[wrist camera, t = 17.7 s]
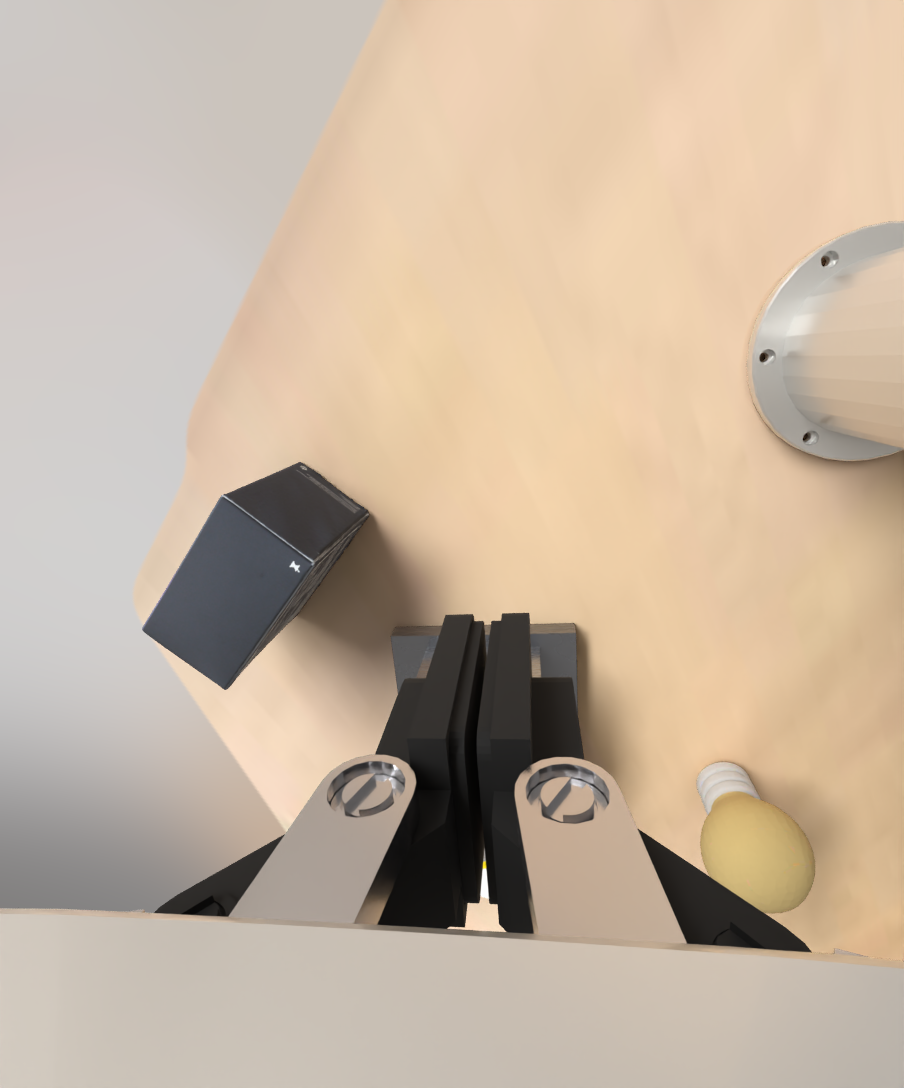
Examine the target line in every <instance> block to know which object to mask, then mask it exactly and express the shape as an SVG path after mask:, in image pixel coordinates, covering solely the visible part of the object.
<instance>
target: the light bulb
mask: <svg viewBox="0 0 904 1088" xmlns="http://www.w3.org/2000/svg"><path fill="white" fill-rule="evenodd" d="M697 790H698V792H699V795H700V796H701V800H702V802H703V804H704V806H705V810H706V812H707V814H708V816H707V818H706V820H705V822H704V825H703V828H702V832H701V841H700V846H701V854H702V858H703V862H704V865H705V868H706V870H707V872H708V874H709V876H710V877H711V878H712V879H714V880H715V881H717V882H718V883H720V884H721V885H723V886H724V887H726V888H727V889H729V890H730V891H732V892H733V893H735V894H736V895H738V896H739V897H741V898H742V899H744V900H745V901H747V902H748V903H750V904H751V905H753V906H754V907H756V908H757V909H759V910H760V911H762V912H763V913H782V912H786V911H789V910H792V909H794V908H796V907H797V906H799V905H800V904H801V903H802V902H803V901H804V899H805V898H806V897H807V895H808V893H809V891H810V889H811V887H812V884H813V881H814V876H815V859H814V855H813V851H812V848H811V846H810V843H809V841H808V839H807V837H806V835H805V834H804V832H803V831H802V830H801V828H800V827H799V826H798V824H797V823H796V822H795V821H794V820H793V819H792V818H791V817H789V816H788V815H787V814H786V813H785V812H783V811H782V810H780V809H779V808H777V807H776V806H774V805H772V804H769V803H767V802H765V801H762V800H761V799H760V797H759V795H758V793H757V791H756V790H755V787H754V785H753V784H752V782H751V780H750V778H749V776H748V774H747V773H746V772H745V770H743V769H742V768H741V767H740V766H738V765H736V764H733V763H729V762H717V763H713V764H711V765H709V766H707V767H705V768H704V769H703V770H702V771H701V772H700V774H699V775H698V778H697Z"/></svg>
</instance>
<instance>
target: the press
mask: <svg viewBox="0 0 904 1088" xmlns="http://www.w3.org/2000/svg"><path fill="white" fill-rule="evenodd" d="M484 627H485V640H486V653H487V652H488V644H489V637H490V629H491V625H484ZM441 628H442V626H419V627H395V629H394V631H393V633H392V635H391V642H392V650H393V658H394V666H395V673H396V681H397V689H398V693H399V691H400V688H401V686H402V683H403V681H404V679H406V678H426V676H427V673H428V670H429V666H430V663H431V660H432V657H433V654H434V650H435V647H436V644H437V641H438V638H439V635H440V631H441ZM530 639H531V660H532V677H572V680H573V686H574V693H575V700H576V707H577V657H576V630H575V624H574V623H564V624H530ZM577 714H578V708H577ZM484 861H486V858H485V848H484V859H483V862H484Z"/></svg>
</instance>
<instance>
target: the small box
mask: <svg viewBox="0 0 904 1088" xmlns="http://www.w3.org/2000/svg"><path fill="white" fill-rule="evenodd" d="M368 517H369V513H368V511H367V510H365V508H364V507H362V506H361V505H359V504H357V503H355V502H354V501H353V499H350V498H349V497H347V496H346V495H345V494H343V493H342V492H341V491H339V490H338V489H337V488H335V487H334V486H333V485H332V484H330V483H329V482H327V481H326V480H325V479H323V477H322V476H321V475H320V474H318V473H317V472H315V471H314V470H312V469H310V468H309V467H307V466H306V465H304V464H303V463H301V462H298V463H297V464H294V465H292V466H290V467H288V468H286V469H283V470H281V471H279V472H276V473H274V474H272V475H270V476H267V477H265V478H263V479H260V480H258V481H255V482H253V483H251V484H248V485H246V486H244V487H241V488H239V489H237V490H235V491H232V492H230V493H227V494H224V495H222V496H221V497H220V499H219V500H218V502H217V504H216V506H215V507H214V509H213V510H212V512H211V514H210V516H209V517H208V519H207V521H206V523H205V524H204V526H203V528H202V529H201V531H200V533H199V534H198V536H197V538H196V540H195V541H194V543H193V545H192V546H191V548H190V550H189V551H188V553H187V555H186V556H185V558H184V560H183V561H182V563H181V565H180V566H179V568H178V570H177V572H176V573H175V575H174V577H173V578H172V580H171V582H170V583H169V585H168V587H167V588H166V590H165V592H164V593H163V595H162V597H161V598H160V600H159V601H158V603H157V605H156V606H155V608H154V610H153V611H152V613H151V614H150V616H149V618H148V619H147V621H146V623H145V624H144V626H143V628H142V630H143V631H144V632H145V633H146V634H147V635H149V636H150V637H151V638H153V639H154V640H155V641H157V642H158V643H160V644H161V645H162V646H164V647H165V648H166V649H168V650H169V651H171V652H172V653H174V654H175V655H176V656H178V657H179V658H181V659H182V660H184V661H185V662H186V663H188V664H189V665H191V666H192V667H193V668H195V669H196V670H198V671H199V672H201V673H202V674H203V675H205V676H206V677H208V678H209V679H211V680H212V681H213V682H215V683H216V684H218V685H219V686H220V687H222V688H223V689H225V690H226V689H228V688H229V687H230V686H231V685H232V683H233V682H234V681H235V679H236V678H237V677H238V676H239V675H240V674H241V672H242V671H243V670H244V669H245V668H246V667H247V666H248V664H250V662H251V661H252V660H253V659H254V658H255V657H256V656H257V655H258V654H259V653H260V652H261V651H262V650H263V649H264V648H265V647H266V645H267V644H268V643H269V642H270V641H271V640H272V639H273V638H274V637H275V636H276V635H277V634H278V633H279V632H280V631H281V630H282V629H283V628H284V627H285V626H286V625H287V624H288V623H289V622H290V621H291V620H292V619H294V618H295V617H296V616H297V615H298V613H299V611H300V610H301V609H302V608H303V606H304V605H305V604H306V602H307V601H308V599H309V598H310V597H311V596H312V594H313V592H314V591H315V590H316V589H317V587H318V586H319V585H320V583H321V582H322V580H323V579H324V577H325V576H326V575H327V574H328V572H329V571H330V569H331V568H332V567H333V565H334V564H335V562H336V561H337V560H338V559H339V558H340V556H341V555H342V553H343V552H344V550H345V549H346V548H347V547H348V545H349V544H350V542H351V541H352V539H353V538H354V537H355V535H356V533H357V532H358V530H359V529H360V528H361V526H362V525H363V523H364V522H365V520H366V519H367V518H368Z"/></svg>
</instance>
